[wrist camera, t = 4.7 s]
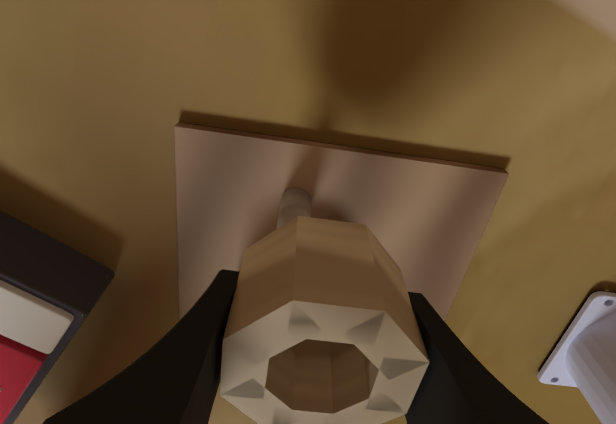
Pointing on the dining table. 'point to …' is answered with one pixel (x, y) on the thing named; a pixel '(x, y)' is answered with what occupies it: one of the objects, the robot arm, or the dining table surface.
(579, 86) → the dining table surface
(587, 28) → the dining table surface
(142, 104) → the dining table surface
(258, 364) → the maple gear
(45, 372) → the red white black box
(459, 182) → the gear board
